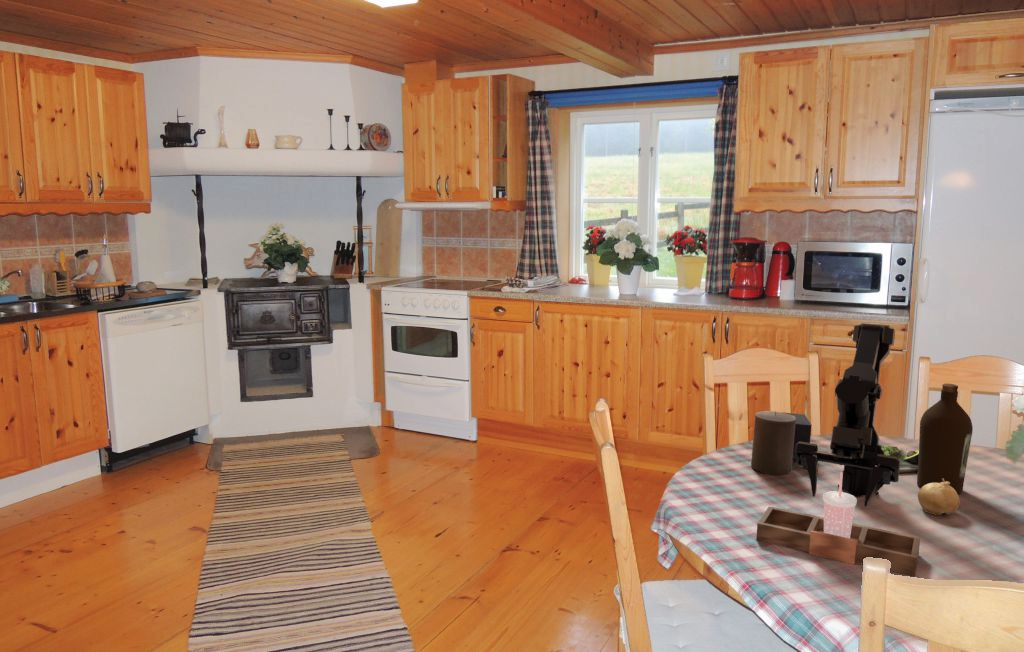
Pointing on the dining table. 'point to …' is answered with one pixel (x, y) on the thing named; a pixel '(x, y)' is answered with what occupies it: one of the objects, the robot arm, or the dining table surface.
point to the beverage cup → (838, 511)
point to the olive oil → (944, 441)
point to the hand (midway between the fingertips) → (839, 500)
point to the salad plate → (903, 458)
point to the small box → (801, 430)
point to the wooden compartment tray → (838, 540)
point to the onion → (938, 498)
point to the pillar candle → (773, 442)
